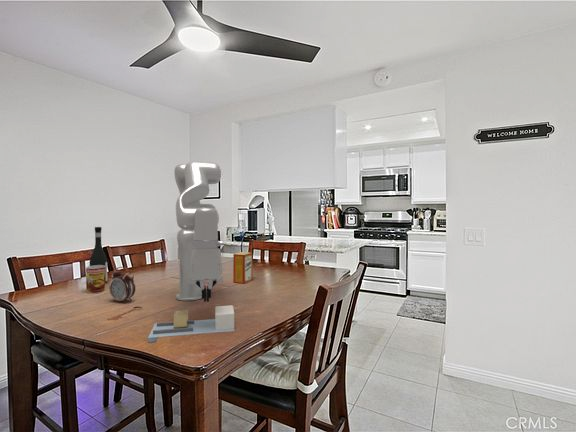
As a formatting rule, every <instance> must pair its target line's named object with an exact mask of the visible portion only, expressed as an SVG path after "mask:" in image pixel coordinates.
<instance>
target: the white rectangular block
mask: <svg viewBox="0 0 576 432" xmlns="http://www.w3.org/2000/svg"><path fill="white" fill-rule="evenodd" d="M214 309H215V313H214V314H215V317H214V319H215V330H228V329H234V330H235V311H234V305H219V306H218V305H217V306H215V308H214Z"/></svg>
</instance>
